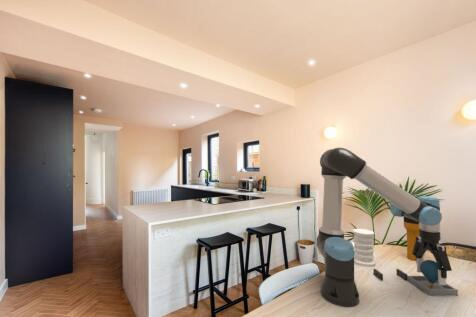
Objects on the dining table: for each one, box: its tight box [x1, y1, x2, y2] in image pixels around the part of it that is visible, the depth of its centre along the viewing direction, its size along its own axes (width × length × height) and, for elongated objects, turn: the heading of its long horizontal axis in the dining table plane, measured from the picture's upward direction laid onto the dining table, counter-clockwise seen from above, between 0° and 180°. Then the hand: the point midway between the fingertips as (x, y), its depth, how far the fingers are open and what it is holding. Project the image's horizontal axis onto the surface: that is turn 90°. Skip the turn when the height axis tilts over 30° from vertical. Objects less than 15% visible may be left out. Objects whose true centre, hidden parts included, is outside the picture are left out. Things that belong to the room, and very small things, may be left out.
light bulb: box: [420, 259, 440, 287], centre depth 103 cm, size 8×8×12 cm
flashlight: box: [403, 217, 424, 261], centre depth 136 cm, size 10×26×10 cm
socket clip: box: [373, 268, 408, 282], centre depth 113 cm, size 13×6×3 cm, turn 90°
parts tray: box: [407, 275, 459, 297], centre depth 103 cm, size 13×13×2 cm
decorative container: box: [352, 228, 376, 268], centre depth 131 cm, size 12×12×18 cm
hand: (430, 278), depth 104 cm, fingers open, 11 cm apart
